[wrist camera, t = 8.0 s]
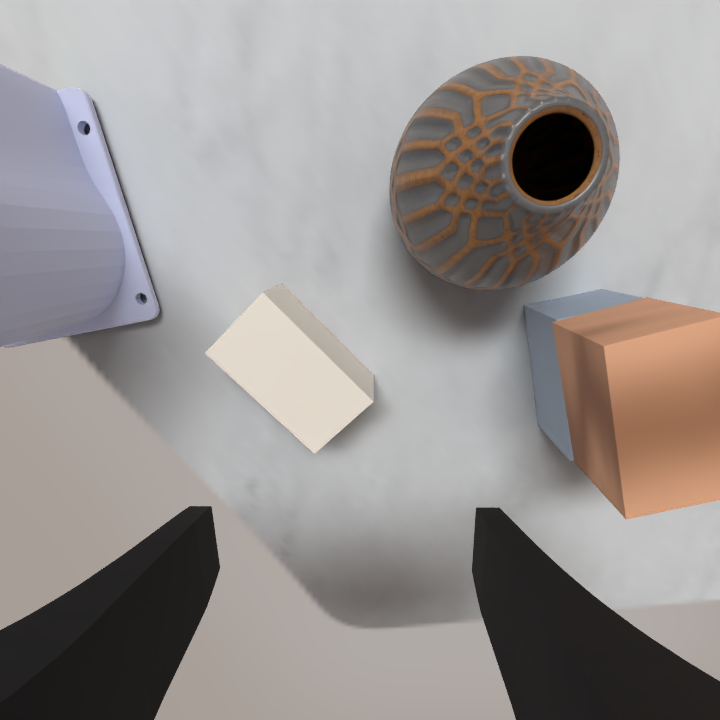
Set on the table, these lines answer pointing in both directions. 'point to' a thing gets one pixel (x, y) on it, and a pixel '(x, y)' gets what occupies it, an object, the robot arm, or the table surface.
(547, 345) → the slate brick
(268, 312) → the cream brick
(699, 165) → the table surface
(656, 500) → the terracotta brick
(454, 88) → the vase
